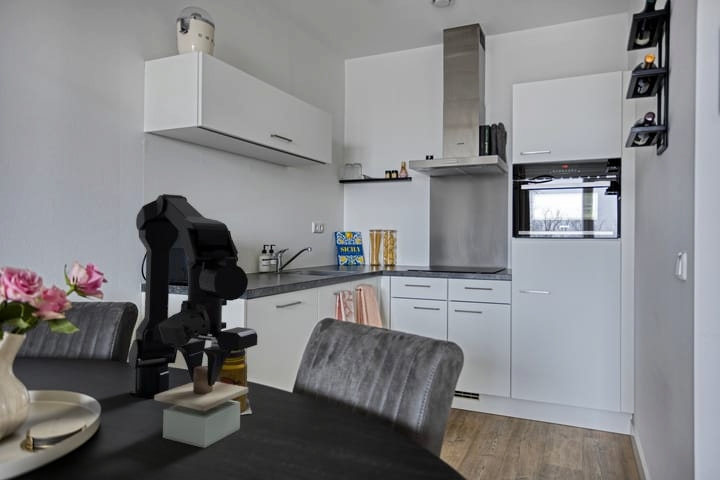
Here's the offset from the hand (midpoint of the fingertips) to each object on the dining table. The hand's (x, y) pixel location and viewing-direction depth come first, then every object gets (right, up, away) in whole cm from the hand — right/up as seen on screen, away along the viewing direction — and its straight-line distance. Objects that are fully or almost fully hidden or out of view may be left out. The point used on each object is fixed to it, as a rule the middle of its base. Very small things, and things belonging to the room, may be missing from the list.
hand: (203, 384), depth 85 cm
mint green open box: (0, -9, 0) cm, 9 cm away
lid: (0, -2, 0) cm, 2 cm away
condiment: (+2, -9, +12) cm, 15 cm away
